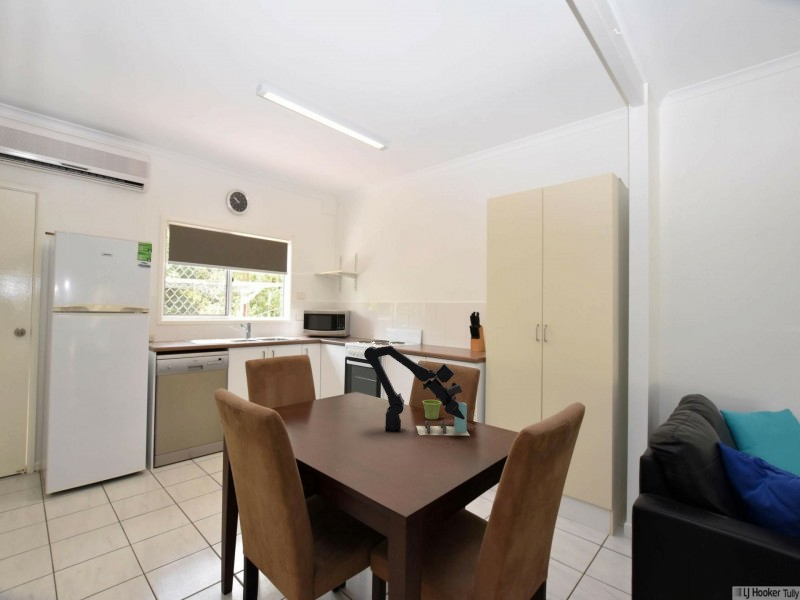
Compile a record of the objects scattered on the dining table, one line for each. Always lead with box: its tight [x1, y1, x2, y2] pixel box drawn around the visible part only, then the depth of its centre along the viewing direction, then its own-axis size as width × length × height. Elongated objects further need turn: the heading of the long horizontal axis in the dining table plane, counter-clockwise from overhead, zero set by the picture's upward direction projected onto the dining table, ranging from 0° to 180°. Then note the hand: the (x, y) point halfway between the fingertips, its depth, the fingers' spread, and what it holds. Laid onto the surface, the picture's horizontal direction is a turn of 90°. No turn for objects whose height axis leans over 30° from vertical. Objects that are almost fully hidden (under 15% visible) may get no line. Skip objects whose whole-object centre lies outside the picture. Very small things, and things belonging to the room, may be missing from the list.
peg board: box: [415, 420, 471, 437], centre depth 166 cm, size 22×12×4 cm, turn 93°
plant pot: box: [422, 399, 442, 420], centre depth 185 cm, size 9×9×9 cm
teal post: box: [453, 401, 468, 432], centre depth 166 cm, size 4×4×12 cm
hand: (463, 415), depth 166 cm, fingers open, 9 cm apart
